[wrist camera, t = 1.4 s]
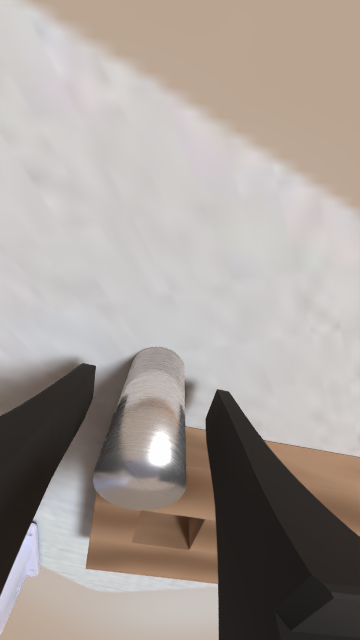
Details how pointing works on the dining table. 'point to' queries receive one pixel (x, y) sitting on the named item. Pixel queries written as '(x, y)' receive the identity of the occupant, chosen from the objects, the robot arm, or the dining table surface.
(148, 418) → the steel pin
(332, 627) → the robot arm
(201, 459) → the pin board
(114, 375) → the dining table surface
